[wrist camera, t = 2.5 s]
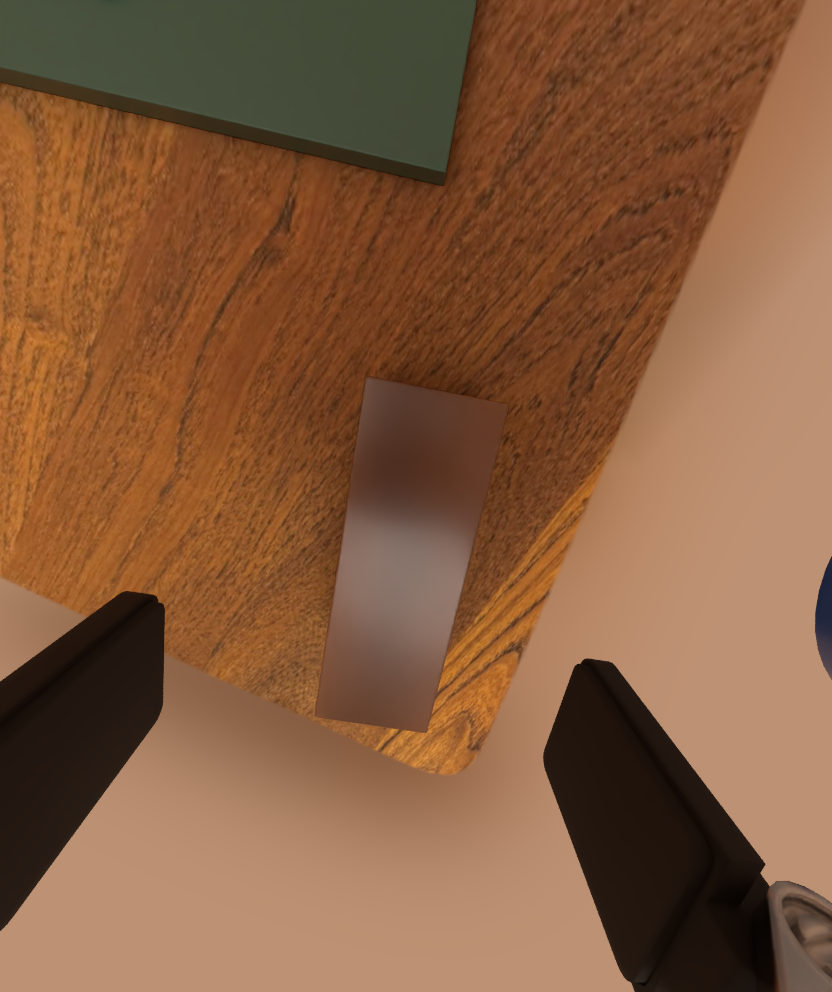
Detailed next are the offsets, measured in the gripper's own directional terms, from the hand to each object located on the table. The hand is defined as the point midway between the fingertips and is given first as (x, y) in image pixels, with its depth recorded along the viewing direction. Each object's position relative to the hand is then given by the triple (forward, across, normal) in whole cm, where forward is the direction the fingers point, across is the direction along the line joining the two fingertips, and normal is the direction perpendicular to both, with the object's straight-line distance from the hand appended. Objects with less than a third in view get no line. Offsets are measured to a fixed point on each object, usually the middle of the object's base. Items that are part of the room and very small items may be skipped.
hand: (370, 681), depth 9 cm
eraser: (+10, -1, 0) cm, 10 cm away
